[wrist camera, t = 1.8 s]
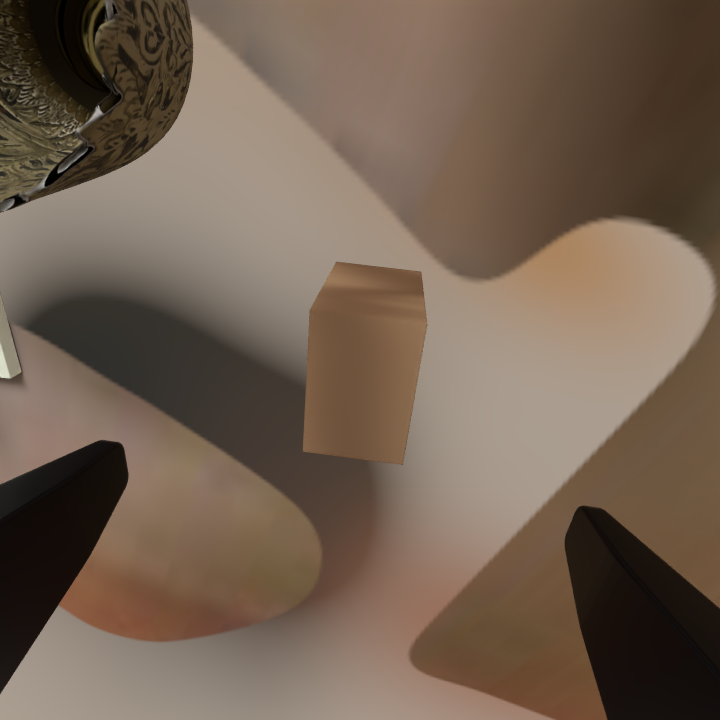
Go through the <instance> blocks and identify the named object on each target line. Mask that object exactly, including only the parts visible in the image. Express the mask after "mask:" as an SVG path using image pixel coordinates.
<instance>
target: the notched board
mask: <svg viewBox="0 0 720 720" xmlns="http://www.w3.org/2000/svg"><path fill="white" fill-rule="evenodd" d="M19 373H21V368H20V364H19V361H18V357H17V353H16V349H15V346H14V342H13V338H12V335H11V331H10V327H9V324H8V320H7V316H6V312H5V309H4V305H3V301H2V298H1V294H0V377H1V378H9V379H11V378H13V377H14V376H16V375H17V374H19Z"/></svg>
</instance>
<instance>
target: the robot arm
mask: <svg viewBox="0 0 720 720" xmlns="http://www.w3.org/2000/svg"><path fill="white" fill-rule="evenodd" d="M127 482H128V468H127V462H126V457H125V451H124V447H123V445H122V444H121V443H119V442H113V441H106V440H100V441H97V442H94V443H92V444H90V445H88V446H85V447H83V448H81V449H79V450H76V451H74V452H72V453H70V454H67V455H65V456H63V457H61V458H58V459H56V460H54V461H52V462H50V463H47V464H45V465H43V466H41V467H38V468H36V469H34V470H32V471H29V472H27V473H25V474H23V475H20V476H18V477H16V478H14V479H11V480H9V481H7V482H5V483H2V484H0V694H1V692H2V690H3V689H4V687H5V686H6V684H7V683H8V681H9V680H10V678H11V677H12V675H13V674H14V672H15V670H16V669H17V667H18V666H19V664H20V663H21V661H22V660H23V658H24V657H25V655H26V654H27V652H28V651H29V649H30V647H31V646H32V644H33V643H34V641H35V640H36V638H37V637H38V635H39V634H40V632H41V631H42V629H43V628H44V626H45V624H46V623H47V621H48V620H49V618H50V617H51V615H52V614H53V612H54V611H55V609H56V608H57V606H58V605H59V603H60V601H61V600H62V598H63V597H64V595H65V594H66V592H67V591H68V589H69V588H70V586H71V585H72V583H73V581H74V580H75V578H76V577H77V575H78V574H79V572H80V571H81V569H82V568H83V566H84V564H85V563H86V561H87V560H88V558H89V556H90V555H91V553H92V551H93V549H94V547H95V546H96V544H97V542H98V540H99V538H100V536H101V534H102V532H103V530H104V528H105V526H106V524H107V523H108V521H109V519H110V517H111V515H112V513H113V511H114V509H115V507H116V505H117V503H118V501H119V499H120V497H121V495H122V494H123V492H124V490H125V488H126V485H127ZM565 551H566V557H567V562H568V567H569V573H570V578H571V583H572V588H573V594H574V599H575V604H576V610H577V615H578V619H579V624H580V628H581V632H582V636H583V639H584V643H585V646H586V650H587V653H588V656H589V660H590V663H591V666H592V670H593V673H594V676H595V680H596V683H597V686H598V690H599V693H600V696H601V700H602V703H603V706H604V710H605V713H606V716H607V720H720V608H719V607H717V606H716V605H715V604H714V603H713V602H712V601H710V600H709V599H708V598H707V597H706V596H704V595H703V594H702V593H701V592H700V591H699V590H697V589H696V588H695V587H694V586H693V585H692V584H690V583H689V582H688V581H687V580H686V579H685V578H683V577H682V576H681V575H680V574H679V573H678V572H676V571H675V570H674V569H673V568H672V567H671V566H669V565H668V564H667V563H666V562H665V561H664V560H662V559H661V558H660V557H659V556H658V555H657V554H655V553H654V552H653V551H652V550H651V549H649V548H648V547H647V546H646V545H645V544H644V543H642V542H641V541H640V540H639V539H638V538H637V537H635V536H634V535H633V534H632V533H631V532H630V531H628V530H627V529H626V528H625V527H624V526H623V525H621V524H620V523H619V522H618V521H617V520H616V519H614V518H613V517H612V516H611V515H610V514H609V513H607V512H606V511H605V510H603V509H601V508H597V507H590V506H580V507H578V508H577V510H576V511H575V514H574V516H573V519H572V521H571V523H570V526H569V528H568V531H567V533H566V536H565Z"/></svg>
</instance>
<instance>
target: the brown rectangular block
mask: <svg viewBox="0 0 720 720" xmlns="http://www.w3.org/2000/svg"><path fill="white" fill-rule="evenodd" d="M426 328H427V318H426V310H425V301H424V292H423V283H422V274H421V272H420V271H410V270H402V269H394V268H386V267H377V266H368V265H360V264H352V263H343V262H336V264H335V265H334V267H333V269H332V271H331V273H330V275H329V276H328V278H327V280H326V282H325V283H324V285H323V287H322V289H321V291H320V292H319V294H318V296H317V298H316V300H315V302H314V303H313V305H312V307H311V309H310V317H309V337H308V357H307V377H306V398H305V419H304V439H303V451H304V452H311V453H318V454H326V455H333V456H341V457H348V458H355V459H363V460H370V461H378V462H385V463H394V464H401V465H403V461H404V455H405V449H406V444H407V437H408V432H409V426H410V421H411V415H412V408H413V403H414V398H415V392H416V386H417V380H418V374H419V369H420V363H421V357H422V352H423V346H424V340H425V334H426Z"/></svg>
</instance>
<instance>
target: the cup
mask: <svg viewBox="0 0 720 720" xmlns="http://www.w3.org/2000/svg"><path fill="white" fill-rule="evenodd" d="M192 63H193V39H192V26H191V20H190V14H189V8H188V4H187V0H0V212H4V211H7V210H10V209H13V208H15V207H18V206H20V205H23V204H25V203H28V202H30V201H32V200H35V199H38V198H40V197H44V196H47V195H50V194H52V193H55V192H58V191H61V190H64V189H67V188H70V187H73V186H76V185H78V184H81V183H84V182H87V181H89V180H92V179H95V178H98V177H100V176H103V175H105V174H108V173H110V172H112V171H114V170H116V169H119V168H121V167H123V166H125V165H127V164H129V163H131V162H132V161H134V160H136V159H137V158H139V157H140V156H142V155H143V154H145V153H146V152H148V151H149V150H150V149H151V148H152V147H153V146H154V145H155V144H157V143H158V142H159V141H160V140H161V139H162V138H163V137H164V136H165V134H166V133H167V132H168V131H169V130H170V128H171V127H172V125H173V123H174V122H175V120H176V119H177V117H178V115H179V113H180V111H181V108H182V106H183V104H184V101H185V97H186V94H187V92H188V88H189V83H190V79H191V72H192Z"/></svg>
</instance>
